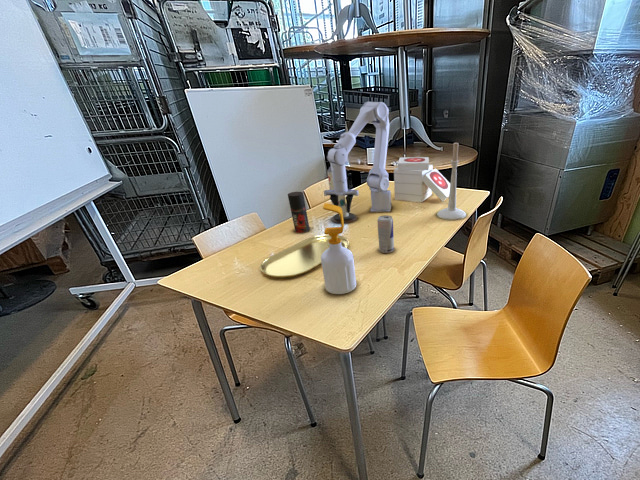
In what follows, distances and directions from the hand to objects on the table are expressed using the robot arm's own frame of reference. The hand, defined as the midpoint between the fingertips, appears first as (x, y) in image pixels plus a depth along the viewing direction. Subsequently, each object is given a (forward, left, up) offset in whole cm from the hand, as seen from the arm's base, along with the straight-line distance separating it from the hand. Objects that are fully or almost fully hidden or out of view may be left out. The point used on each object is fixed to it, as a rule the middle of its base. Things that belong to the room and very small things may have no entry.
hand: (343, 211), depth 146 cm
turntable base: (0, 0, -3) cm, 3 cm away
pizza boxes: (-35, -32, -4) cm, 48 cm away
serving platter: (+5, +38, -4) cm, 39 cm away
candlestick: (-48, -6, -4) cm, 48 cm away
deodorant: (+15, +13, -4) cm, 20 cm away
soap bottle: (-11, +58, -4) cm, 59 cm away
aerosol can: (+7, -20, -4) cm, 21 cm away
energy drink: (-22, +32, -4) cm, 39 cm away
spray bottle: (0, 0, -2) cm, 2 cm away
